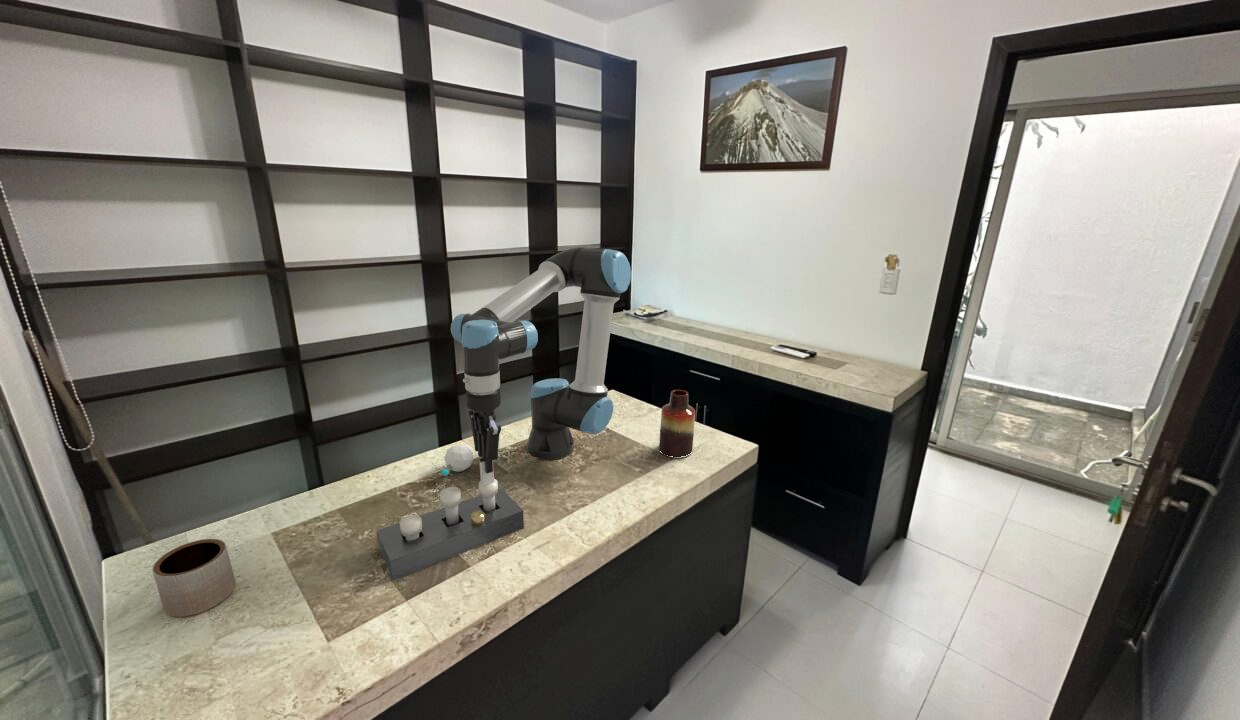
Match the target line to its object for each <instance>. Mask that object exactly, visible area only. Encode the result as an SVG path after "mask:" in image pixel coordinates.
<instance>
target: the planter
mask: <svg viewBox="0 0 1240 720" xmlns="http://www.w3.org/2000/svg"><path fill="white" fill-rule="evenodd" d="M152 573H153V577H154V581H155V584H156V588H157V592H158V596H159V598H160V602H161V605H162V608H163V611H164V613H165V614H166V615H168V616H170V617H172V618H173V617H174V618H175V617H176V618H185V617H190V616H194V615H197V614H201V613H203V612H206V611H208V610H210V609H212V608H214V607H215V606H217V605H219V604H221V603H222V602H223V601H224V600H226V599H227V598H228V597H229V596H230V595H232V593H233V591H234V589H235V587H236V577H235V574H234V570H233V566H232V563H231V559H230V555H229V552H228V548H227V544H226V542H225V541H223V540H221V539H218V538H206V539H205V538H203V539H197V540H194V541H190V542H188V543H187V542H186V543H184V544H182V545H179V546H177V547H175V548H173V549H171V550H169V551H168V552H166V553H164V554H163V555H162V556H161V557H159V558H158V559H157V560H156V561H155V563H154V564H153V566H152Z"/></svg>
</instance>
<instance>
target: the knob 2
mask: <svg viewBox="0 0 1240 720" xmlns="http://www.w3.org/2000/svg"><path fill="white" fill-rule="evenodd" d="M498 483H499V482H498V480H497V479H495V478H494V482H493V483H490V484H486V485H482V484H481V480H479V482H478V494H479V496H480V495H481V496H483V508H484V513H485V514H486V513H489V512H492V511H494V510H496V508H495V494H497V492H498V489H499V484H498Z"/></svg>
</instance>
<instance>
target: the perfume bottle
mask: <svg viewBox="0 0 1240 720" xmlns="http://www.w3.org/2000/svg"><path fill="white" fill-rule="evenodd" d="M473 460H474V453H473V450H472V449H471V448H470V447H469V446H467V445H466V444H463V443H458V444H456V443H455V444H454V445H451V447H449V448H448V449H447V450H446V452H445V455H444V462H445V466H444V465H442V467H443V468H444V469H443V468H442V469H441V475H442V476H443V477H447V476H448V475H451V476H452V477H453V474H452V473H450V472H451V471H453V472H464V471H465V470H466V469H468V468H470V467H471V466H472V463H473Z"/></svg>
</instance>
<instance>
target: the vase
mask: <svg viewBox="0 0 1240 720" xmlns="http://www.w3.org/2000/svg"><path fill="white" fill-rule="evenodd" d="M695 420H696V410H695V408H694V407H693V406H691V405H689V392H688V391H686V390H682V389H673V390H671V392H670V397H669V403H666V404H665V405H663V406H662V407H661V413H660V427H659V428H660V429H659V444H658V449H659V452H660V451H661V452H662V453H663V454H665V455H668V456H673V457H681V456H686V455H688V454H690V453H691V452H693V445H694V434H695V433H694V432H695ZM661 452H660V453H661ZM662 453H661V454H662ZM663 454H662V455H663ZM665 455H664V456H665ZM668 456H667V457H668Z"/></svg>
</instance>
